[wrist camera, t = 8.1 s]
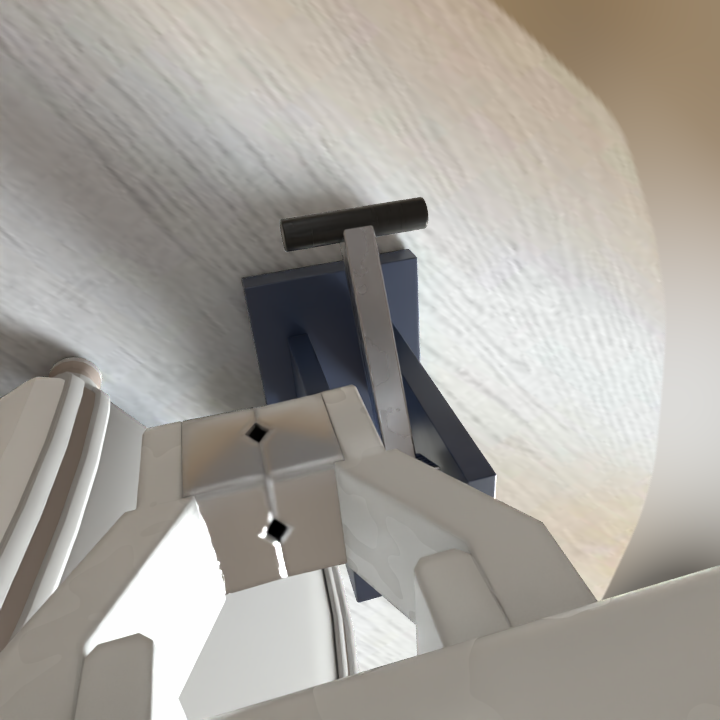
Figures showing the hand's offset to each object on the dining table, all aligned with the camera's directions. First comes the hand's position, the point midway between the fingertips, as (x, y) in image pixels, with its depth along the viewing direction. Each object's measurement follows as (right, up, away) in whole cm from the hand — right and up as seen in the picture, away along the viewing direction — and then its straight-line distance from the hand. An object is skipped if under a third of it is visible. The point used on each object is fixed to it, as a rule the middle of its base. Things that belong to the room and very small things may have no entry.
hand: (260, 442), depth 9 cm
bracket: (0, +1, +22) cm, 22 cm away
